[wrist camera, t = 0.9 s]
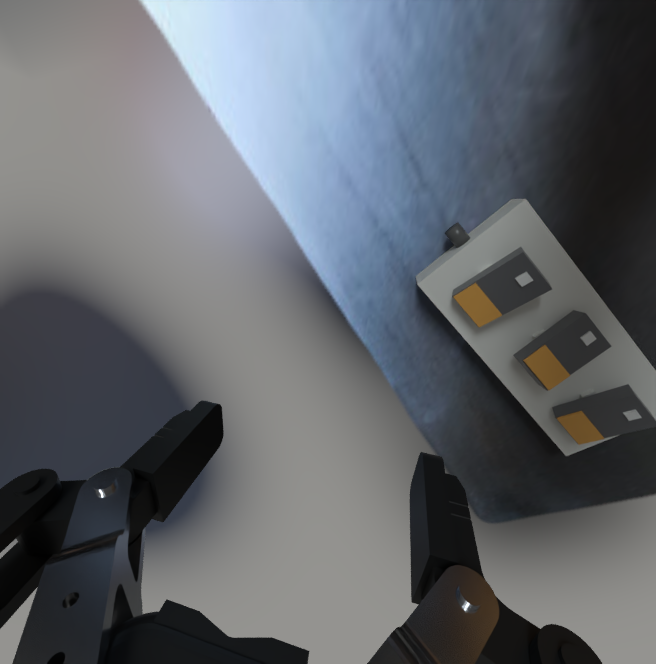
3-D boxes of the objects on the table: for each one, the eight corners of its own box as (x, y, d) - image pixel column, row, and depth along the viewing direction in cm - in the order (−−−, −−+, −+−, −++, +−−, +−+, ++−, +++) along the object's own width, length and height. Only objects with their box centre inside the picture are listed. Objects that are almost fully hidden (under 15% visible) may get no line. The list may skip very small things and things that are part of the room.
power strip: (499, 183, 31) (514, 181, 27) (656, 387, 35) (688, 412, 31) (404, 264, 36) (404, 272, 32) (550, 433, 40) (567, 459, 36)
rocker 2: (573, 310, 30) (587, 313, 28) (598, 341, 31) (613, 347, 29) (513, 355, 32) (522, 360, 30) (537, 384, 32) (548, 391, 31)
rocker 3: (628, 384, 30) (635, 396, 29) (651, 414, 31) (660, 427, 29) (552, 407, 35) (555, 418, 33) (574, 433, 35) (578, 445, 34)
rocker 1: (520, 246, 28) (523, 252, 26) (548, 282, 28) (552, 290, 27) (452, 289, 32) (451, 297, 31) (478, 320, 33) (478, 328, 31)
